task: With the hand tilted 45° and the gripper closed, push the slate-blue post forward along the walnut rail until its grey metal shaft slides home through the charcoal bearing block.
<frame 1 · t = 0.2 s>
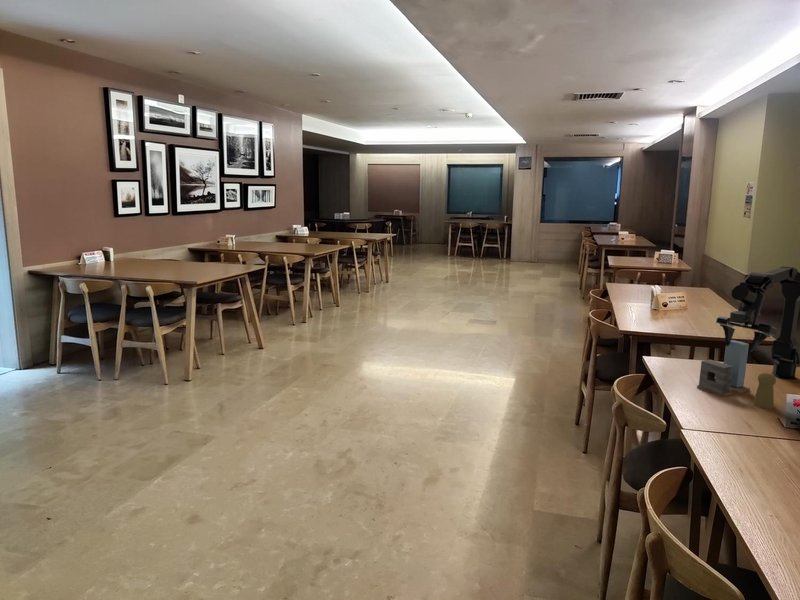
hand: (738, 348, 206), 16 cm above the table, tool tilted 20°, fingers open, 8 cm apart
bearing stand: (731, 387, 212), on the table
cork: (763, 405, 195), on the table
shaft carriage: (728, 364, 209), point 9 cm above the table, slide at -0.2 cm, touching gripper
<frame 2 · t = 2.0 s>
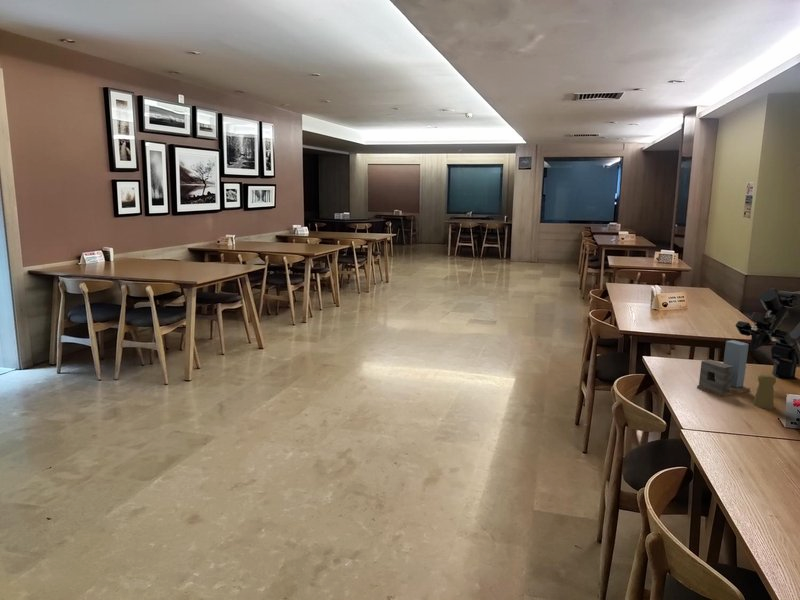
hand: (750, 349, 214), 14 cm above the table, tool tilted 45°, fingers closed
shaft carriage: (728, 364, 209), point 9 cm above the table, slide at 0.0 cm
everything else where it was.
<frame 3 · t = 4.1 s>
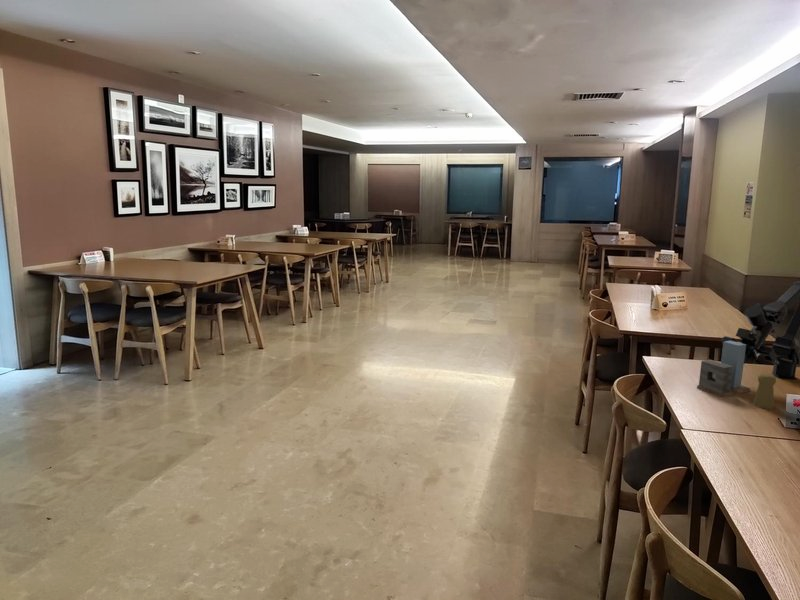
hand: (735, 365, 211), 8 cm above the table, tool tilted 45°, fingers closed, pressing on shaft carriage
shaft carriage: (725, 365, 209), point 9 cm above the table, slide at 1.5 cm, touching gripper
everything else where it was.
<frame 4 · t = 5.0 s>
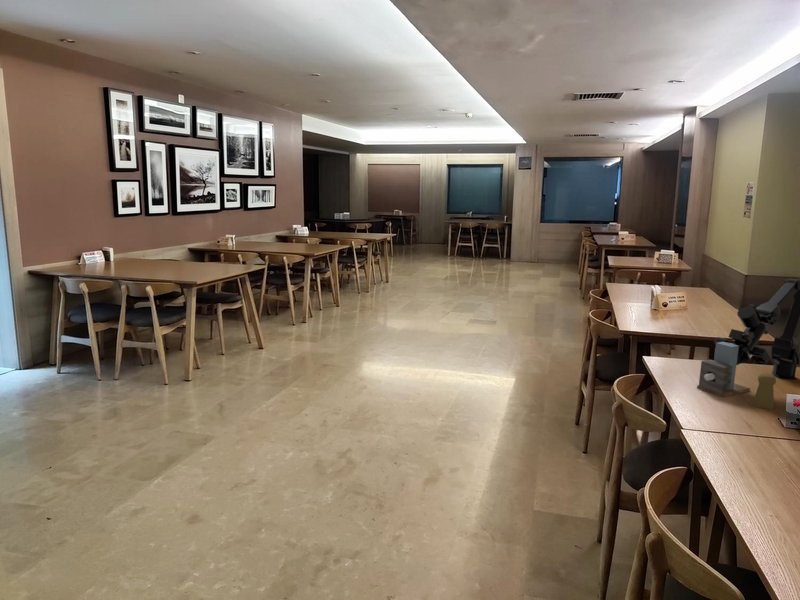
hand: (728, 367, 209), 8 cm above the table, tool tilted 45°, fingers closed, pressing on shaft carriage
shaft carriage: (718, 366, 207), point 9 cm above the table, slide at 5.5 cm, touching gripper
everything else where it was.
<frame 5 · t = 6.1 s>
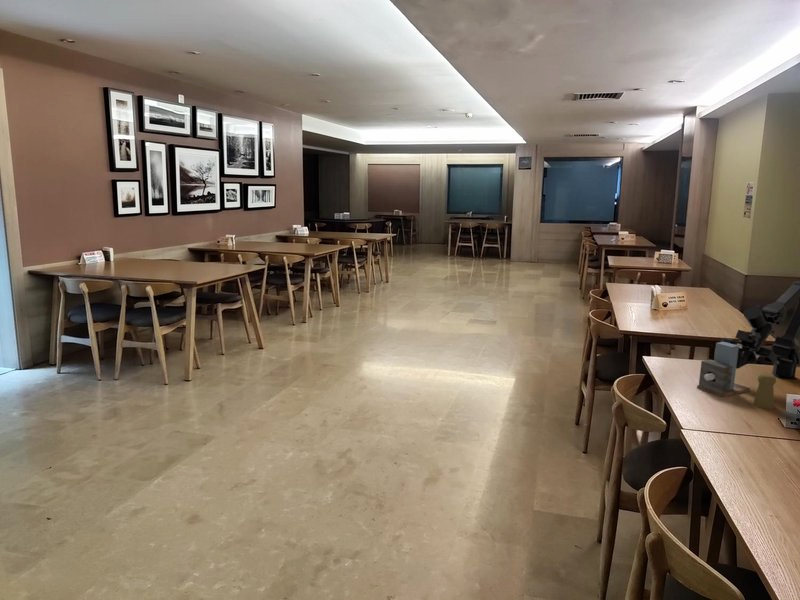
hand: (735, 367, 211), 8 cm above the table, tool tilted 45°, fingers closed
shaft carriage: (718, 366, 207), point 9 cm above the table, slide at 5.5 cm
everything else where it was.
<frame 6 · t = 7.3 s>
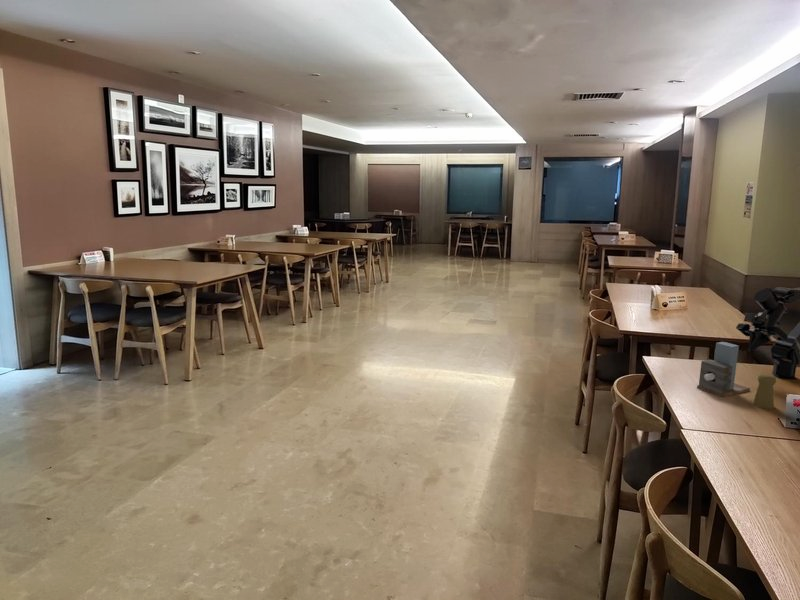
hand: (749, 350, 215), 13 cm above the table, tool tilted 35°, fingers closed
nothing on the table moved.
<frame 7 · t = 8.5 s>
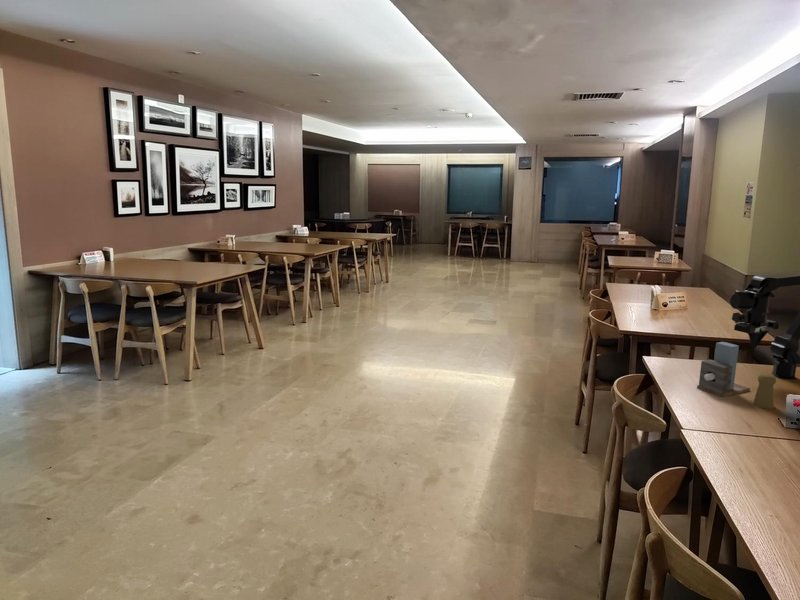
hand: (753, 347, 222), 12 cm above the table, tool pointing down, fingers closed
nothing on the table moved.
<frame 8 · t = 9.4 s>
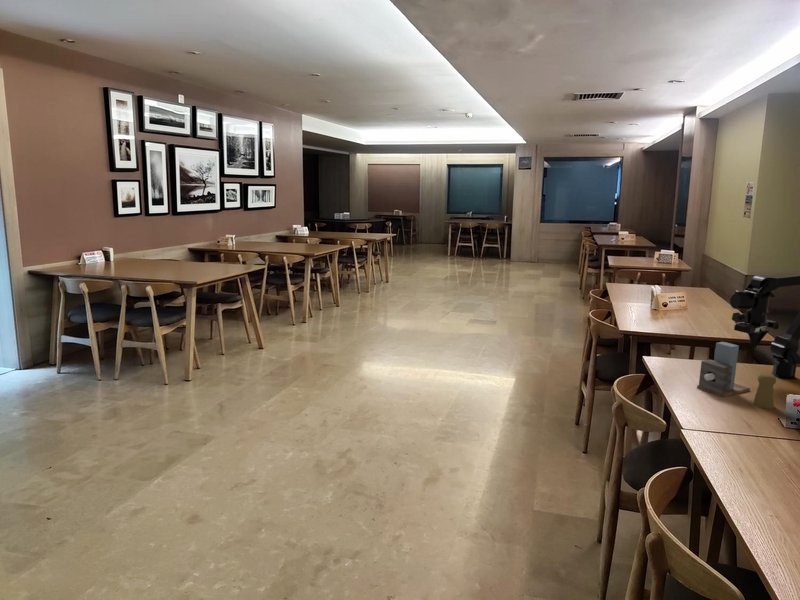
hand: (753, 347, 222), 12 cm above the table, tool pointing down, fingers closed
nothing on the table moved.
at the end: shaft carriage slide at 5.5 cm; cork moved 0.2 cm from its start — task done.
